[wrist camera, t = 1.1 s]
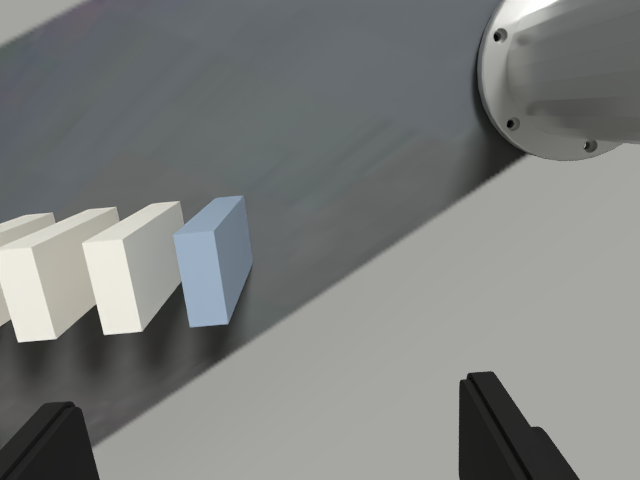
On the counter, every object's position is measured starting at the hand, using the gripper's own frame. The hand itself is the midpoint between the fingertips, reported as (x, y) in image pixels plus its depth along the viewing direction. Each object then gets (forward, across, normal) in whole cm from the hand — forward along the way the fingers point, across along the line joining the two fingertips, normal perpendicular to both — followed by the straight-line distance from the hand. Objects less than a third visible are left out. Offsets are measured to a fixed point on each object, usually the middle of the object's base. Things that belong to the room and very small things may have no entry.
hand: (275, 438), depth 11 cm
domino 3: (+22, +14, 0) cm, 26 cm away
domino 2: (+22, +9, 0) cm, 24 cm away
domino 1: (+22, +5, 0) cm, 23 cm away
